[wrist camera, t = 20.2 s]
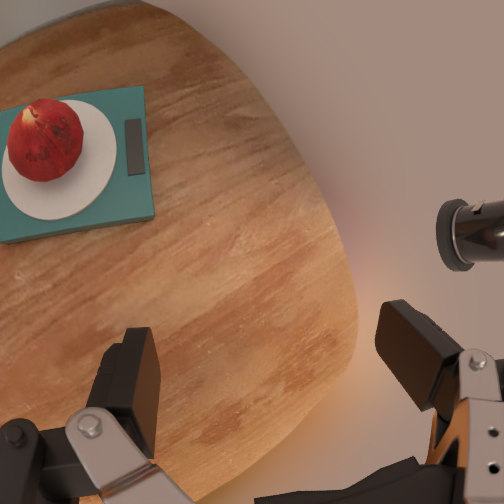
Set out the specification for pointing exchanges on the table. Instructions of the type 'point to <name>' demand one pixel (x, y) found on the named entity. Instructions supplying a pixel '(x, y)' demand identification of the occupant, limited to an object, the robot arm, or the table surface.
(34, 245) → the table surface
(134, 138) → the scale
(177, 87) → the table surface
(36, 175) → the onion
